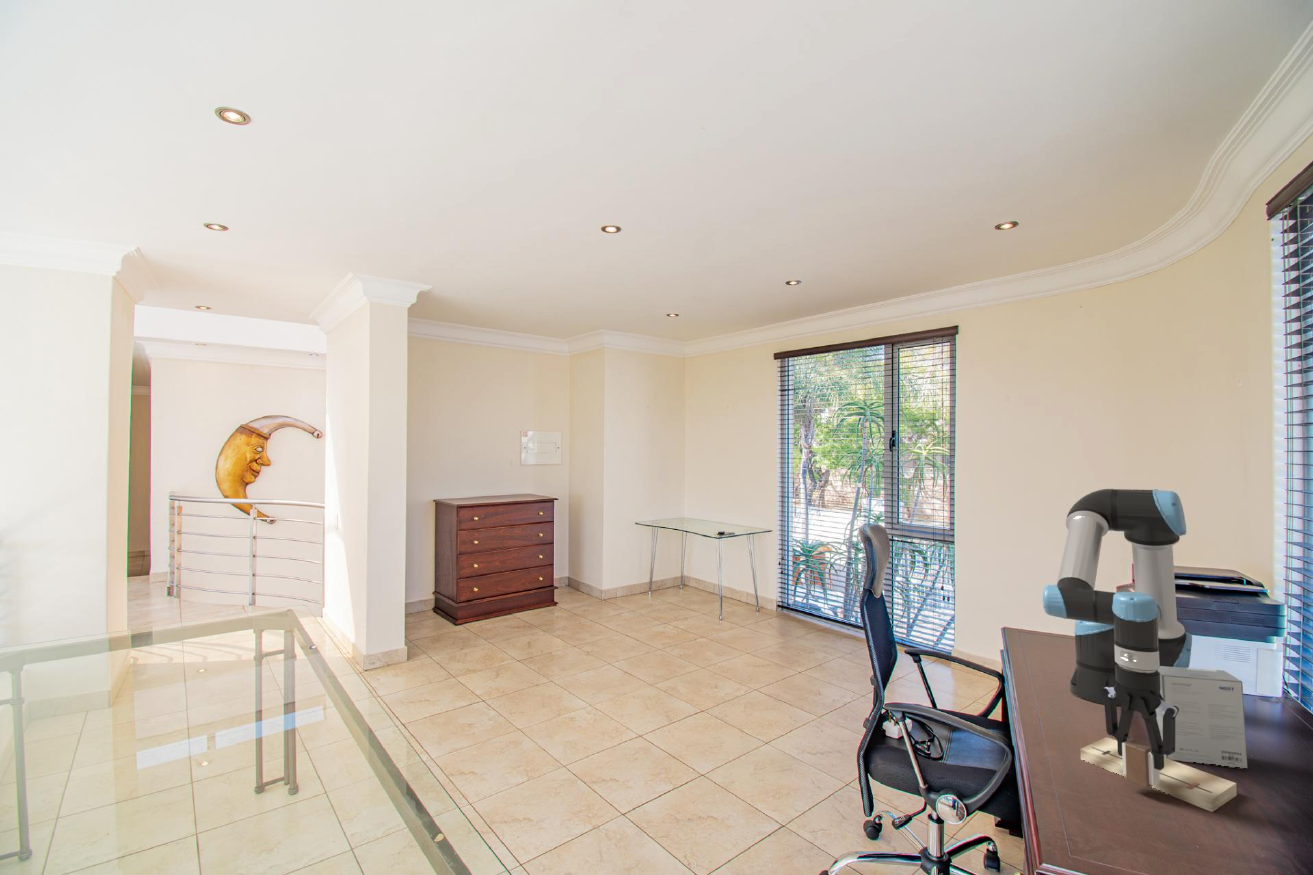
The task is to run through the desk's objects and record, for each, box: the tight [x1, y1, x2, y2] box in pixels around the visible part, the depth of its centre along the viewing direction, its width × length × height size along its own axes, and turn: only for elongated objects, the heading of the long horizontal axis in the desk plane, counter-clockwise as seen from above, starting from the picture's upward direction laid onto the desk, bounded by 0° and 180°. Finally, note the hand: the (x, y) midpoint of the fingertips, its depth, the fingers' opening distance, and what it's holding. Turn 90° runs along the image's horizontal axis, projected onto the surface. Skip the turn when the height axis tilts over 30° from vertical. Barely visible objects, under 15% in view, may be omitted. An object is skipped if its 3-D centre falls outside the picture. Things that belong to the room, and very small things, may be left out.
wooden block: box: [1125, 739, 1153, 790], centre depth 127 cm, size 4×4×8 cm
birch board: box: [1079, 736, 1238, 813], centre depth 133 cm, size 24×12×3 cm, turn 28°
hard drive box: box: [1156, 666, 1248, 769], centre depth 142 cm, size 16×8×20 cm, turn 71°
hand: (1141, 777), depth 127 cm, fingers closed on wooden block, 4 cm apart
